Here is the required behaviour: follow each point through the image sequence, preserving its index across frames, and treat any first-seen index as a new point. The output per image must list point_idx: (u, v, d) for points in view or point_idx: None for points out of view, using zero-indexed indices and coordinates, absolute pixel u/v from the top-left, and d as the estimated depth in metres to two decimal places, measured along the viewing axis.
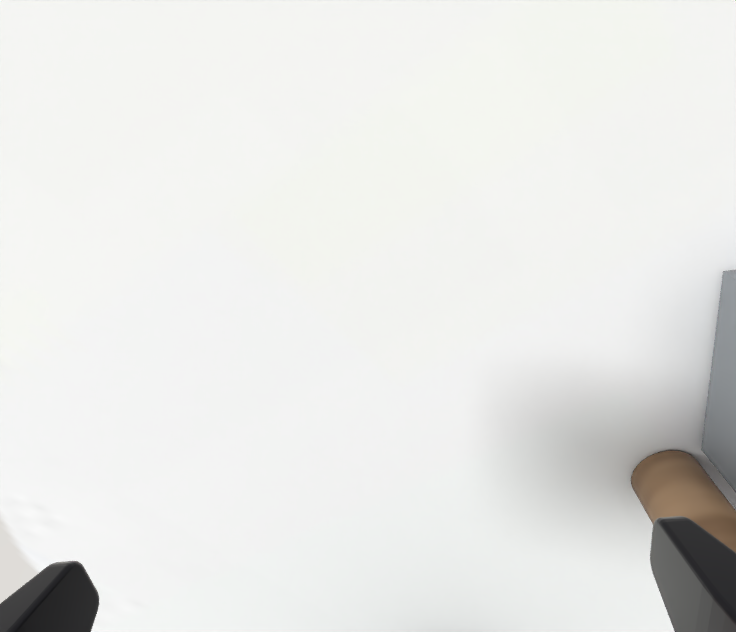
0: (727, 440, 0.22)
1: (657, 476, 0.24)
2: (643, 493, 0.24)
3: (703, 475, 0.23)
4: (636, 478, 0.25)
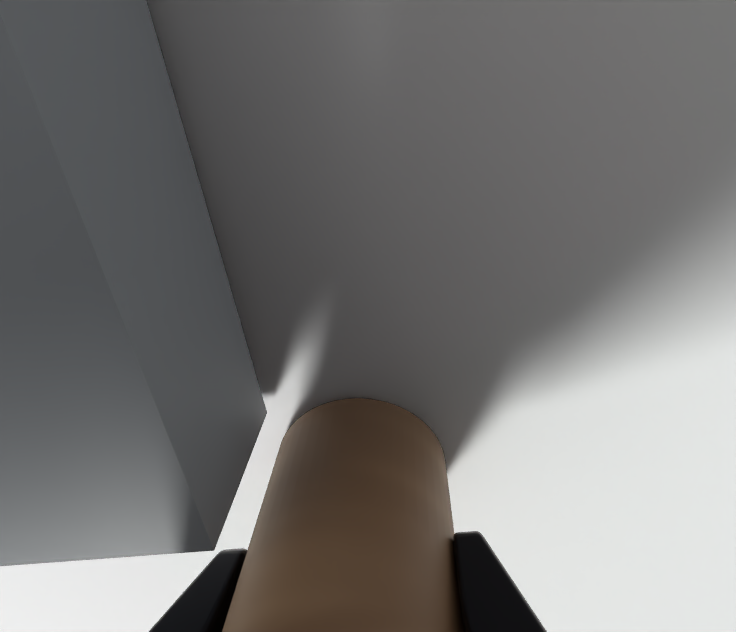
0: None
1: None
2: None
3: None
4: None
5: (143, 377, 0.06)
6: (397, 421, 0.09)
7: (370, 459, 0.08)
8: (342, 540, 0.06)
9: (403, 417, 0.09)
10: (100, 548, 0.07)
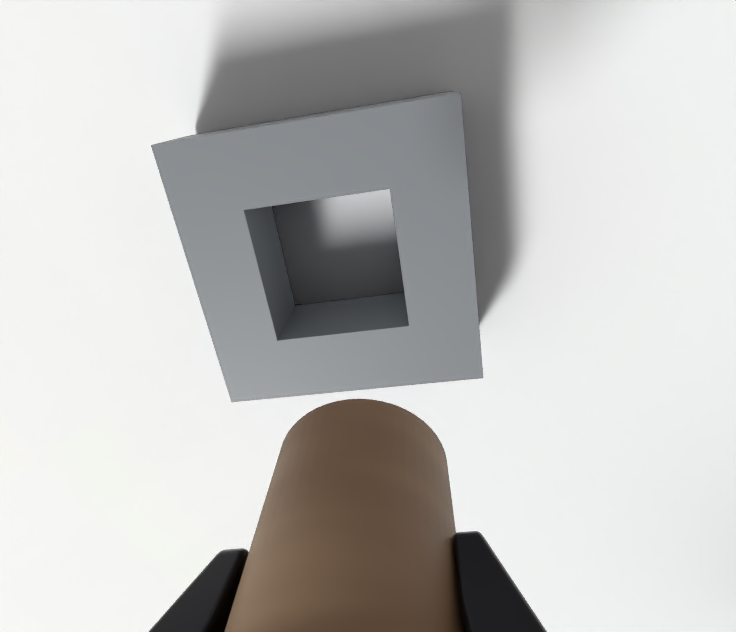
0: None
1: None
2: None
3: (265, 500, 0.08)
4: None
5: (476, 307, 0.17)
6: (399, 422, 0.09)
7: (372, 460, 0.08)
8: (345, 541, 0.06)
9: (404, 417, 0.09)
10: (438, 377, 0.18)
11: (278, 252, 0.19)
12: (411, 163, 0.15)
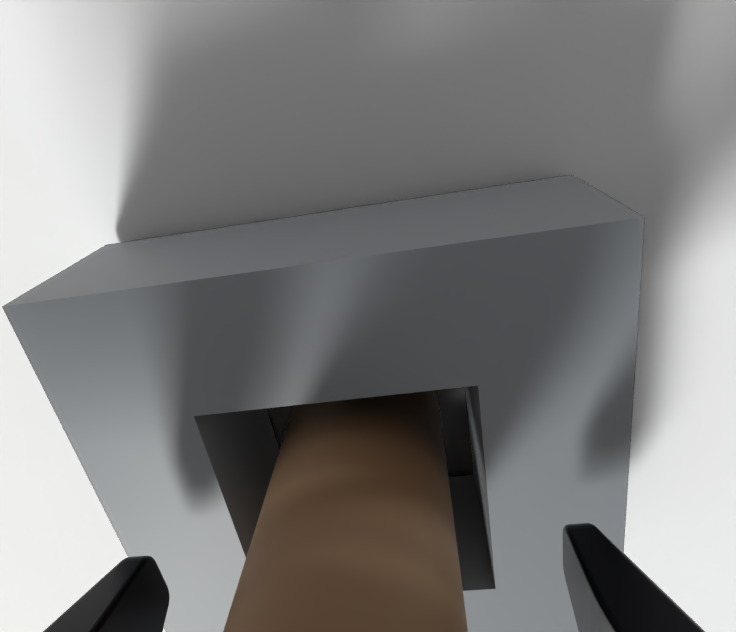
0: None
1: None
2: None
3: (288, 422, 0.10)
4: None
5: None
6: None
7: None
8: (356, 436, 0.08)
9: None
10: None
11: (263, 427, 0.11)
12: (526, 343, 0.07)
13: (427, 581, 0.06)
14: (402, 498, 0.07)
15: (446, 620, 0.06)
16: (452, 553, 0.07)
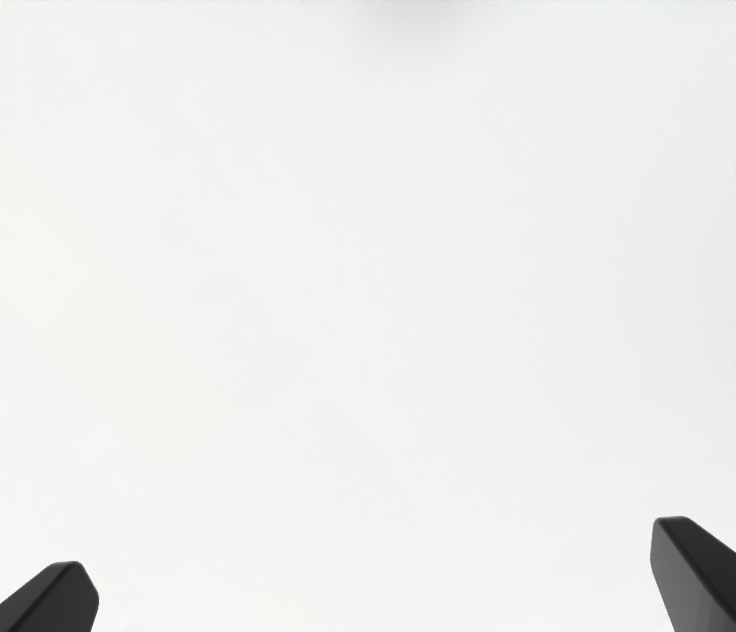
0: None
1: None
2: None
3: None
4: None
5: None
6: None
7: None
8: None
9: None
10: None
11: None
12: None
13: None
14: None
15: None
16: None
